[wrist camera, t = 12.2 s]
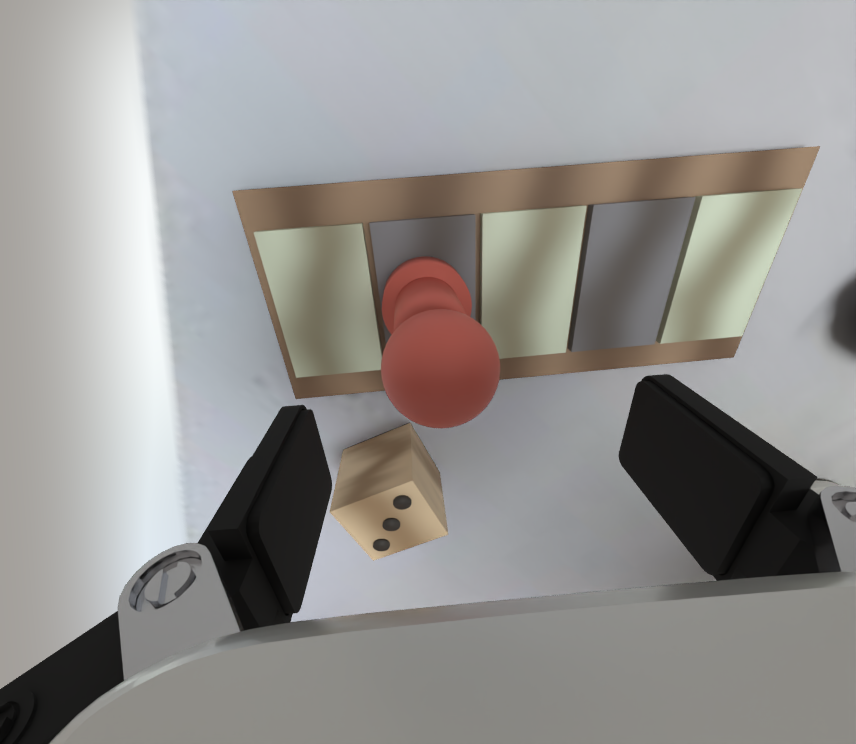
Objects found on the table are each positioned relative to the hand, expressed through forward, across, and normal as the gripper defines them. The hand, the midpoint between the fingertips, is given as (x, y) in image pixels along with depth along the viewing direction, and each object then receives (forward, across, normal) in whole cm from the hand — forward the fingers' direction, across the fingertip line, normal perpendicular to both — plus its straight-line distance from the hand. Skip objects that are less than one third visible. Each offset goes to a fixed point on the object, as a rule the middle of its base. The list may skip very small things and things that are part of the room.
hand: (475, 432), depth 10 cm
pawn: (+12, +1, -1) cm, 12 cm away
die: (+14, +5, +13) cm, 20 cm away
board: (+14, -5, -1) cm, 15 cm away
